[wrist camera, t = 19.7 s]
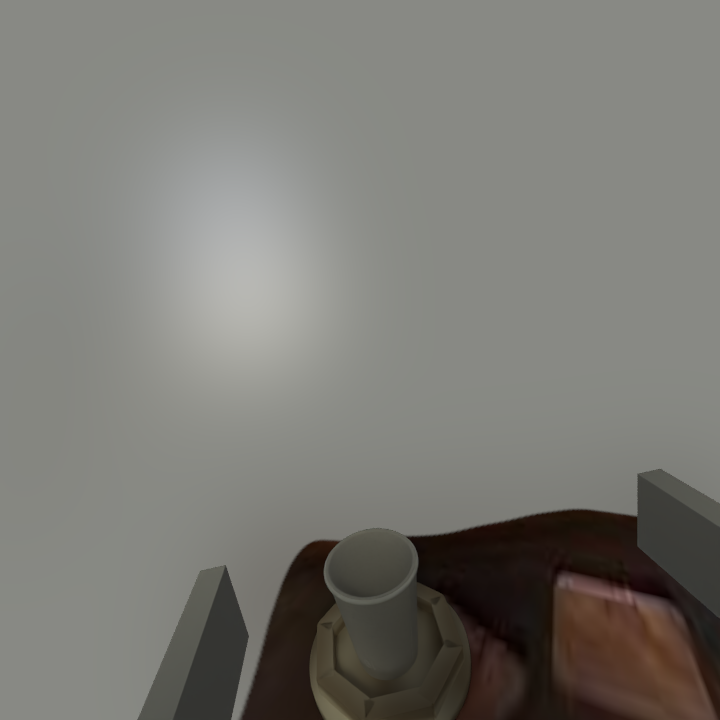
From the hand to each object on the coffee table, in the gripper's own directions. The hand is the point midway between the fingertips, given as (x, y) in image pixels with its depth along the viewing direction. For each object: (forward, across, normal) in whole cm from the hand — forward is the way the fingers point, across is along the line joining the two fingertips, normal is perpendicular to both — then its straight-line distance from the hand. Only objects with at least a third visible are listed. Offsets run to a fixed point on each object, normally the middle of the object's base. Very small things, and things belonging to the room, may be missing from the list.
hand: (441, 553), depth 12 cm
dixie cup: (+18, -3, -26) cm, 32 cm away
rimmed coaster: (+18, -3, -27) cm, 32 cm away
